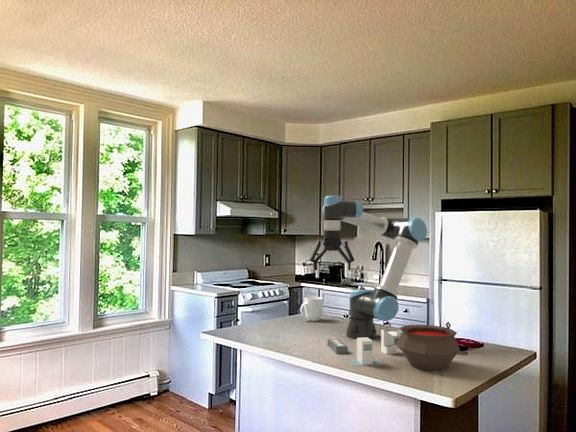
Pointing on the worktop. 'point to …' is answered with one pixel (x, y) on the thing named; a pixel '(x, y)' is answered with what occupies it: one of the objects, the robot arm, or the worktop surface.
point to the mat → (356, 363)
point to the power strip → (337, 346)
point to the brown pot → (428, 346)
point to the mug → (312, 308)
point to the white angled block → (387, 343)
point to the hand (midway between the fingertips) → (332, 277)
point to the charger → (365, 350)
